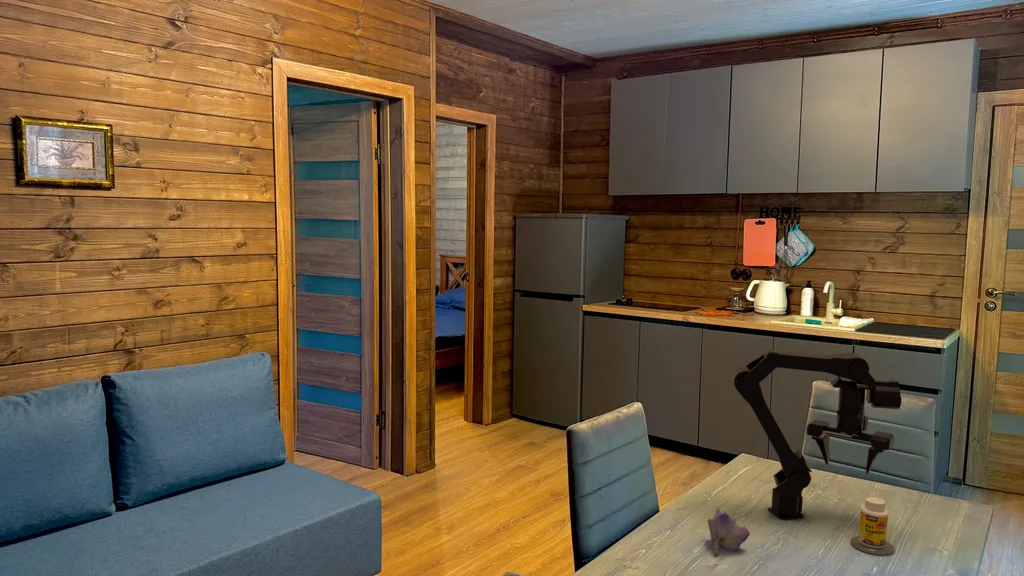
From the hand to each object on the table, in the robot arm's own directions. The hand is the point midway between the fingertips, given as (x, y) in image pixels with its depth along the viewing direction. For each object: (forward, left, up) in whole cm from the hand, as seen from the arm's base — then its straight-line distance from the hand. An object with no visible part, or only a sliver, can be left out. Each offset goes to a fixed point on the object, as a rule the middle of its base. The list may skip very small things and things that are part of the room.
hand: (847, 468), depth 178 cm
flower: (-37, -8, -13) cm, 41 cm away
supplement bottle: (-4, -14, -13) cm, 19 cm away
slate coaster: (-4, -14, -13) cm, 19 cm away
